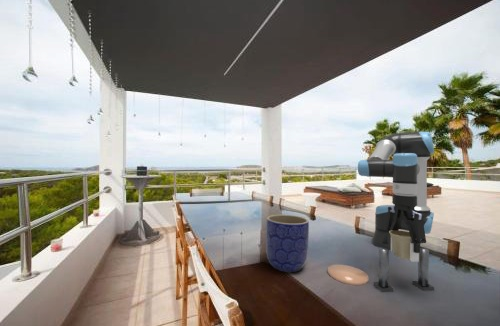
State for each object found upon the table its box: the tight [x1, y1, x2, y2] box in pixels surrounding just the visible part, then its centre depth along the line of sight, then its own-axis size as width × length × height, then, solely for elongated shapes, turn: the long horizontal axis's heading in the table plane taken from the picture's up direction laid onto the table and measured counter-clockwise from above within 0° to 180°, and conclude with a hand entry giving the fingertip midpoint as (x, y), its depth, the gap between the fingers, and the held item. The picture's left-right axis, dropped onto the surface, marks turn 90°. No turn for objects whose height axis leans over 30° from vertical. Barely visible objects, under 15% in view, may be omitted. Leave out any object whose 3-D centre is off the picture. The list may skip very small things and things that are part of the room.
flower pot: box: [389, 229, 412, 261], centre depth 81 cm, size 9×9×9 cm
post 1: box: [373, 247, 394, 293], centre depth 79 cm, size 4×4×14 cm
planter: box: [265, 214, 310, 273], centre depth 95 cm, size 18×18×21 cm
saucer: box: [327, 264, 369, 286], centre depth 88 cm, size 15×15×1 cm
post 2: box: [412, 246, 435, 292], centre depth 81 cm, size 4×4×14 cm
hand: (403, 255), depth 80 cm, fingers closed on flower pot, 8 cm apart
